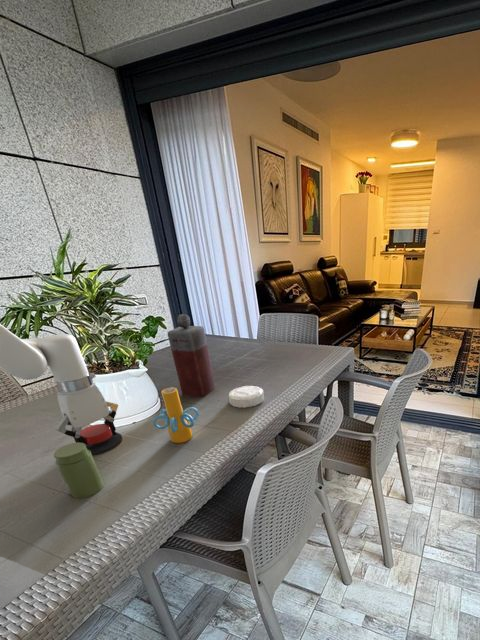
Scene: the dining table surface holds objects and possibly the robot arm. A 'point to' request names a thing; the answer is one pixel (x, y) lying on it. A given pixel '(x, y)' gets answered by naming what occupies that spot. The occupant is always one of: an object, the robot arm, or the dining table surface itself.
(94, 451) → the coaster
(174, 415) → the cylinder
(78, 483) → the jar
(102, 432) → the jar lid
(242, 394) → the mooncake
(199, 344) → the red square decanter
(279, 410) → the dining table surface
